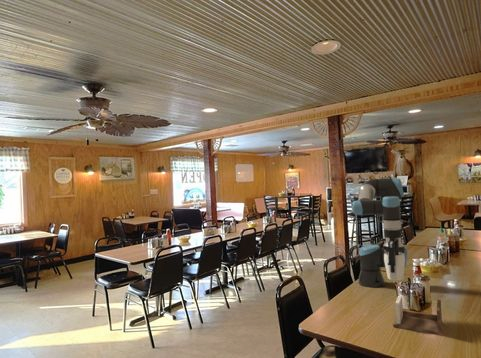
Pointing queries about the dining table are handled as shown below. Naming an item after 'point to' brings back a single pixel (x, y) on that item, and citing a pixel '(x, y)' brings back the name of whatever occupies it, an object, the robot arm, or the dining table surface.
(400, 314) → the divider
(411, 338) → the dining table surface
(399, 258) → the cup
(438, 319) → the rack
